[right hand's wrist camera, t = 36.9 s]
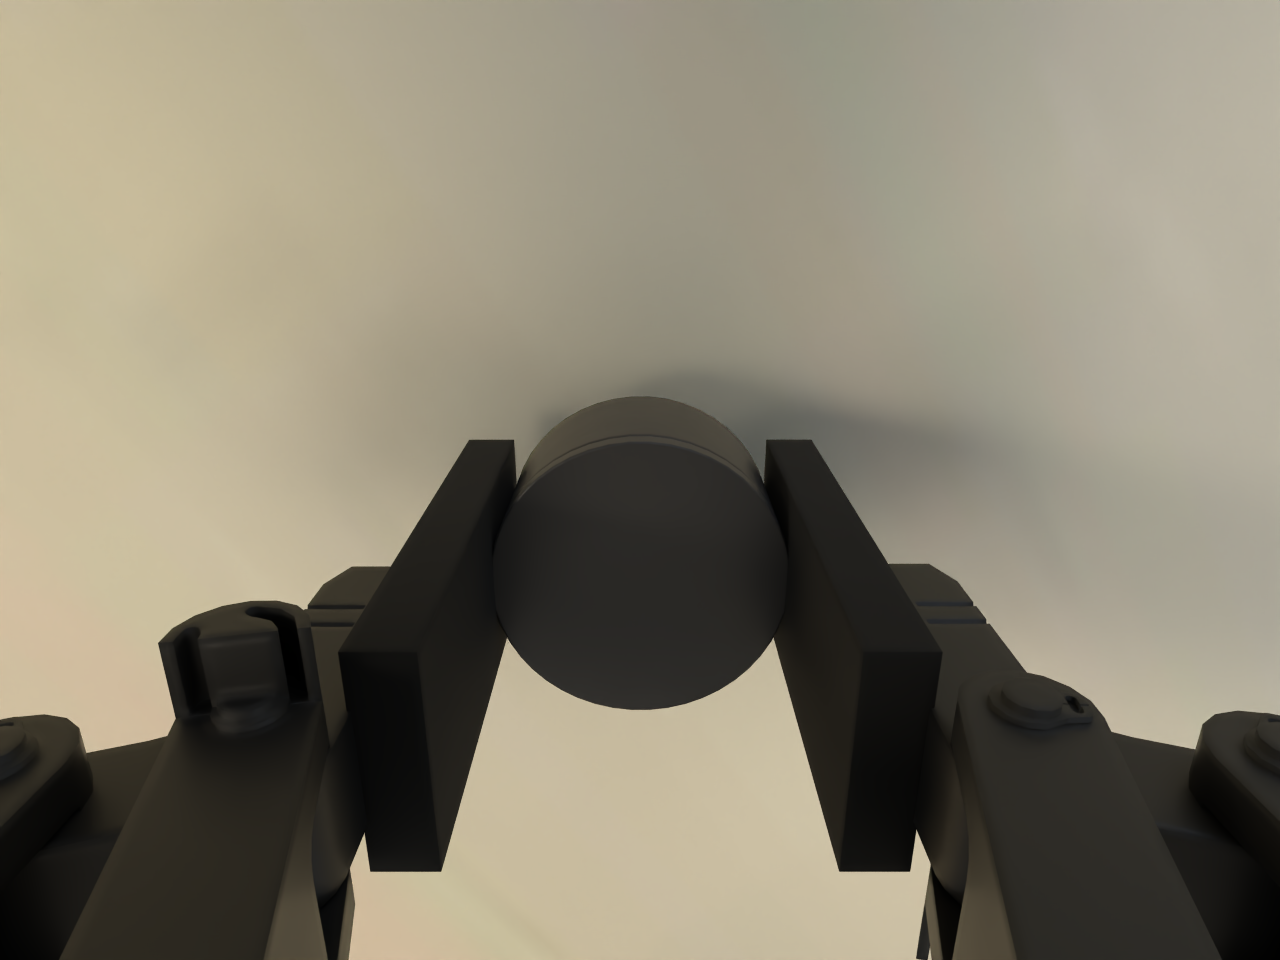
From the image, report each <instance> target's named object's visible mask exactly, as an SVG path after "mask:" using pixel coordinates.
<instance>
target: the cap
mask: <svg viewBox="0 0 1280 960" xmlns="http://www.w3.org/2000/svg"><path fill="white" fill-rule="evenodd" d="M492 561H493V576H494V590H495V604H496V613H497V616H498V619H499V622H500V624H501V627H502V628H503V630H504V632H505V634H506V636H507V638H508V640H509V641H510V643H511V644H512V646H513V647H514V648H515V650H516V651H517V652H518V654H519V655H520V656H521V658H522V659H523V660H524V661H525V662H526V663H527V664H528V665H529V666H530V667H531V668H532V669H533V670H534V671H535V672H537V673H538V674H539V675H540V676H542V677H543V678H544V679H545V680H547V681H548V682H550V683H551V684H553V685H554V686H556V687H558V688H559V689H561V690H563V691H565V692H567V693H569V694H571V695H573V696H575V697H577V698H580V699H583V700H586V701H589V702H592V703H594V704H599V705H603V706H608V707H612V708H620V709H629V710H652V709H661V708H669V707H673V706H678V705H682V704H686V703H689V702H692V701H695V700H698V699H701V698H703V697H706V696H708V695H710V694H712V693H714V692H716V691H718V690H720V689H721V688H723V687H725V686H726V685H728V684H729V683H731V682H733V681H734V680H735V679H737V678H738V677H739V676H740V675H742V674H743V673H744V672H745V671H746V670H748V669H749V668H750V667H751V666H752V665H753V663H754V662H755V661H756V660H757V659H758V658H759V657H760V656H761V655H762V653H763V652H764V651H765V649H766V648H767V646H768V645H769V644H770V642H771V641H772V639H773V637H774V635H775V633H776V631H777V630H778V628H779V626H780V623H781V621H782V618H783V615H784V612H785V599H786V585H787V571H788V550H787V546H786V541H785V538H784V535H783V533H782V530H781V528H780V525H779V522H778V520H777V517H776V515H775V512H774V509H773V507H772V504H771V502H770V499H769V496H768V494H767V491H766V489H765V486H764V483H763V481H762V478H761V476H760V473H759V471H758V468H757V466H756V464H755V462H754V460H753V459H752V457H751V455H750V453H749V452H748V451H747V449H746V448H745V447H744V445H743V444H742V443H741V441H740V440H739V439H738V438H737V437H736V436H735V435H734V434H733V433H732V432H731V431H730V430H729V429H728V428H727V427H725V426H724V425H723V424H721V423H720V422H719V421H717V420H716V419H715V418H713V417H711V416H710V415H708V414H706V413H704V412H702V411H701V410H699V409H696V408H694V407H691V406H689V405H686V404H684V403H680V402H676V401H673V400H669V399H663V398H655V397H625V398H618V399H612V400H608V401H604V402H600V403H597V404H594V405H592V406H589V407H587V408H585V409H582V410H580V411H578V412H577V413H575V414H573V415H571V416H569V417H568V418H566V419H565V420H563V421H562V422H561V423H559V424H558V425H557V426H555V427H554V428H553V429H552V430H551V431H550V432H549V433H548V434H547V435H546V436H545V437H544V438H543V439H542V440H541V441H540V442H539V444H538V445H537V446H536V448H535V449H534V450H533V452H532V453H531V455H530V456H529V458H528V460H527V462H526V464H525V465H524V467H523V470H522V472H521V475H520V478H519V480H518V483H517V485H516V488H515V490H514V493H513V496H512V498H511V501H510V503H509V506H508V508H507V511H506V514H505V516H504V519H503V521H502V524H501V526H500V529H499V532H498V534H497V537H496V539H495V543H494V548H493V552H492Z"/></svg>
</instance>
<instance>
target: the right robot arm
mask: <svg viewBox="0 0 1280 960" xmlns="http://www.w3.org/2000/svg"><path fill="white" fill-rule="evenodd" d="M516 485H517V483H516V465H515V447H514V440H469V441H468V443H467V444H466V446H465V448H464V449H463V451H462V452H461V454H460V456H459V457H458V459H457V460H456V462H455V464H454V465H453V467H452V469H451V470H450V472H449V473H448V475H447V477H446V478H445V480H444V481H443V483H442V485H441V486H440V488H439V490H438V491H437V493H436V494H435V496H434V498H433V499H432V501H431V502H430V504H429V506H428V507H427V509H426V510H425V512H424V514H423V515H422V517H421V519H420V520H419V522H418V523H417V525H416V527H415V528H414V530H413V531H412V533H411V535H410V536H409V538H408V540H407V541H406V543H405V544H404V546H403V548H402V549H401V551H400V552H399V554H398V556H397V557H396V559H395V561H394V562H393V564H392V565H391V567H351V568H349V569H347V570H346V571H344V572H343V573H341V574H339V575H338V576H336V577H335V578H333V579H331V580H330V581H328V582H327V583H325V584H323V586H322V587H321V588H320V590H319V591H318V592H317V594H316V595H315V596H314V598H313V599H312V600H311V602H310V603H309V604H308V609H305V610H302V609H301V608H300V607H298V606H297V605H293V604H289V603H284V602H280V601H248V602H243V603H237V604H232V605H226V606H221V607H218V608H216V609H213V610H210V611H207V612H204V613H201V614H198V615H195V616H193V617H192V618H190V619H188V620H186V621H185V622H183V623H181V624H179V625H178V626H176V627H174V628H172V629H171V630H170V631H169V632H168V634H167V635H166V636H165V637H164V638H163V639H162V640H161V641H160V642H159V643H158V645H159V649H160V653H161V658H162V662H163V666H164V670H165V674H166V679H167V683H168V687H169V691H170V696H171V700H172V704H173V708H174V713H175V717H176V719H175V721H174V724H173V726H172V728H171V730H170V732H169V734H168V736H166V737H162V738H158V739H154V740H150V741H146V742H141V743H136V744H131V745H126V746H120V747H115V748H110V749H105V750H100V751H95V752H90V753H86V750H85V747H84V743H83V740H82V736H81V733H80V729H79V728H78V727H77V726H76V725H75V724H73V723H72V722H71V721H70V720H68V719H67V718H63V717H57V716H51V715H34V716H23V717H12V718H7V719H2V720H0V960H348V959H349V951H350V942H351V934H352V926H353V917H354V909H355V900H354V893H353V886H352V879H351V873H350V866H351V864H352V862H353V859H354V857H355V854H356V852H357V849H358V847H359V845H360V842H361V840H362V837H363V835H364V832H365V838H366V845H367V852H368V858H369V865H370V872H441V871H442V867H443V863H444V860H445V856H446V853H447V849H448V846H449V842H450V839H451V835H452V831H453V828H454V824H455V821H456V817H457V814H458V810H459V806H460V803H461V799H462V796H463V792H464V789H465V785H466V782H467V778H468V774H469V771H470V767H471V764H472V760H473V757H474V753H475V750H476V746H477V742H478V739H479V735H480V732H481V728H482V725H483V721H484V717H485V714H486V710H487V707H488V703H489V700H490V696H491V693H492V689H493V685H494V682H495V678H496V675H497V671H498V668H499V664H500V661H501V657H502V653H503V650H504V646H505V643H506V639H507V636H506V634H505V632H504V630H503V628H502V627H501V624H500V622H499V619H498V616H497V613H496V604H495V590H494V576H493V561H492V552H493V548H494V543H495V539H496V537H497V534H498V532H499V529H500V526H501V524H502V521H503V519H504V516H505V514H506V511H507V508H508V506H509V503H510V501H511V498H512V496H513V493H514V490H515V488H516ZM764 486H765V489H766V491H767V494H768V496H769V499H770V502H771V504H772V507H773V509H774V512H775V515H776V517H777V520H778V522H779V525H780V528H781V530H782V533H783V535H784V538H785V541H786V546H787V550H788V571H787V585H786V599H785V612H784V615H783V618H782V621H781V623H780V626H779V628H778V630H777V631H776V633H775V635H774V641H775V644H776V648H777V651H778V655H779V659H780V662H781V666H782V669H783V673H784V676H785V680H786V684H787V687H788V691H789V694H790V698H791V701H792V705H793V708H794V712H795V716H796V719H797V723H798V726H799V730H800V733H801V737H802V740H803V744H804V748H805V751H806V755H807V758H808V762H809V765H810V769H811V772H812V776H813V780H814V783H815V787H816V790H817V794H818V797H819V801H820V805H821V808H822V812H823V815H824V819H825V822H826V826H827V829H828V833H829V837H830V840H831V844H832V847H833V851H834V854H835V858H836V861H837V865H838V869H839V872H910V869H911V862H912V856H913V849H914V842H915V835H916V829H917V832H918V834H919V836H920V839H921V841H922V844H923V846H924V849H925V851H926V853H927V856H928V858H929V861H930V863H931V867H930V873H929V879H928V886H927V892H926V898H925V904H924V911H923V917H922V923H921V929H920V936H919V942H918V949H917V956H916V959H921V960H928V955H929V949H931V957H932V960H1280V715H1274V714H1269V713H1256V712H1246V711H1233V712H1227V713H1220V714H1215V715H1214V716H1212V717H1211V718H1210V719H1209V720H1207V721H1206V722H1205V723H1204V724H1203V725H1202V728H1201V732H1200V735H1199V739H1198V742H1197V746H1196V749H1190V748H1184V747H1179V746H1174V745H1169V744H1164V743H1159V742H1154V741H1149V740H1143V739H1138V738H1133V737H1129V736H1125V735H1121V734H1118V733H1114V732H1111V730H1110V728H1109V726H1108V724H1107V722H1106V720H1105V718H1104V717H1103V715H1102V714H1101V713H1100V712H1099V710H1098V709H1097V708H1096V707H1095V705H1094V704H1093V703H1092V702H1091V701H1090V700H1089V699H1087V698H1086V697H1084V696H1083V695H1081V694H1080V693H1078V692H1077V691H1075V690H1074V689H1072V688H1071V687H1069V686H1066V685H1064V684H1061V683H1059V682H1057V681H1054V680H1052V679H1049V678H1047V677H1044V676H1040V675H1035V674H1031V673H1027V672H1026V671H1025V670H1024V668H1023V667H1022V666H1021V664H1020V663H1019V662H1018V661H1017V659H1016V658H1015V657H1014V655H1013V654H1012V653H1011V651H1010V650H1009V649H1008V647H1007V646H1006V645H1005V643H1004V642H1003V641H1002V639H1001V638H1000V637H999V636H998V634H997V633H996V632H995V630H994V629H993V628H992V626H991V625H990V624H986V618H985V617H984V616H983V614H982V613H981V612H980V611H979V609H978V608H977V607H976V606H973V601H972V600H971V599H970V597H969V596H968V595H967V593H966V592H965V591H964V589H963V588H962V587H961V586H960V584H959V583H958V582H957V581H956V580H954V579H953V578H951V577H949V576H948V575H946V574H944V573H943V572H941V571H940V570H938V569H936V568H935V567H933V566H932V565H930V564H888V563H887V561H886V560H885V558H884V556H883V555H882V553H881V551H880V550H879V548H878V547H877V545H876V543H875V542H874V540H873V539H872V537H871V535H870V534H869V532H868V531H867V529H866V527H865V526H864V524H863V522H862V521H861V519H860V518H859V516H858V514H857V513H856V511H855V510H854V508H853V506H852V505H851V503H850V501H849V500H848V498H847V497H846V495H845V493H844V492H843V490H842V489H841V487H840V485H839V484H838V482H837V481H836V479H835V477H834V476H833V474H832V472H831V471H830V469H829V468H828V466H827V464H826V463H825V461H824V460H823V458H822V456H821V455H820V453H819V451H818V450H817V448H816V447H815V445H814V443H813V442H812V440H766V457H765V475H764Z"/></svg>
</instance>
